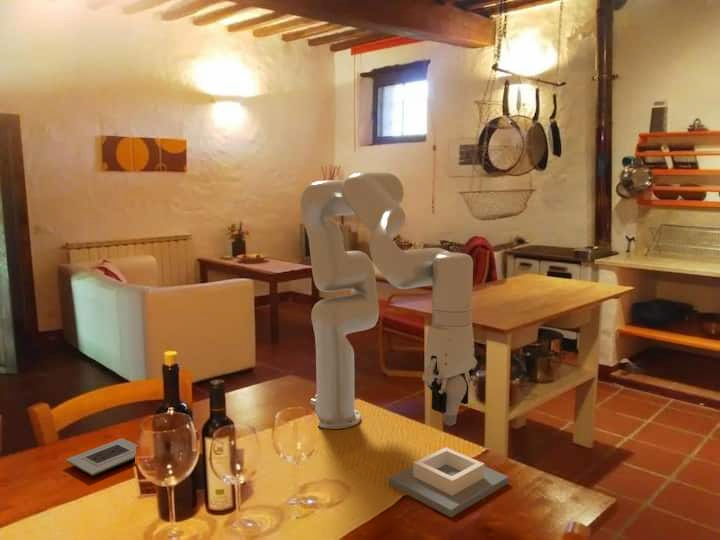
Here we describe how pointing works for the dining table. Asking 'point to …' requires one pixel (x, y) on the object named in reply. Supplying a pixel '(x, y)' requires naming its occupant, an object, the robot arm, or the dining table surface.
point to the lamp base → (448, 481)
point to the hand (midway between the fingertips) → (450, 405)
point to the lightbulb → (453, 397)
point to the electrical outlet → (104, 457)
